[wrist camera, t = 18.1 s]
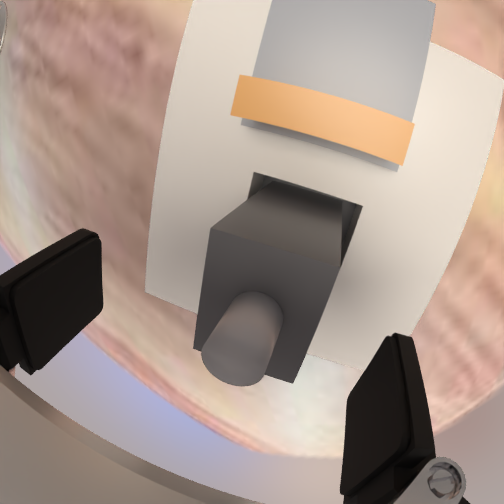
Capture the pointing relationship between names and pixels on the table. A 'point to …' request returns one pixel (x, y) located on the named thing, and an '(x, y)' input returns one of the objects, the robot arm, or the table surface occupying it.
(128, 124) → the table surface
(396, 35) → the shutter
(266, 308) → the plug
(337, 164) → the socket board
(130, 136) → the table surface
